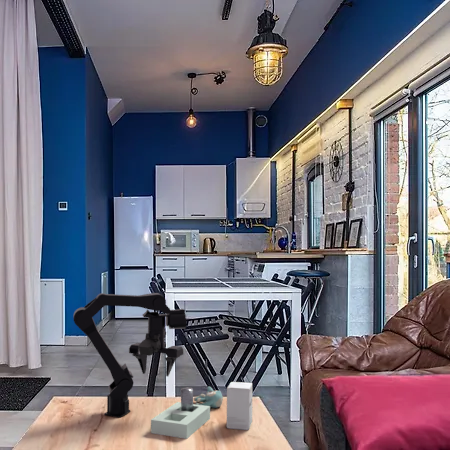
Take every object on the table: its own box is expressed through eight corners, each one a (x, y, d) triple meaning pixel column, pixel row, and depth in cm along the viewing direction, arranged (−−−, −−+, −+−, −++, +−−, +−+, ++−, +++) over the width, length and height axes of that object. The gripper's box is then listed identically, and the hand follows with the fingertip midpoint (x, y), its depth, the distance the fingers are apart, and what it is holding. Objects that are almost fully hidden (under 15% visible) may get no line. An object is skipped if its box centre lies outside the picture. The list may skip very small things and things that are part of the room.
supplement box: (249, 430, 149) (249, 388, 149) (225, 428, 150) (226, 387, 151) (252, 422, 156) (253, 382, 156) (230, 420, 157) (230, 381, 158)
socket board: (150, 433, 146) (151, 419, 146) (177, 414, 163) (177, 402, 163) (186, 438, 142) (186, 424, 142) (210, 418, 159) (210, 406, 159)
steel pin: (179, 418, 155) (178, 390, 156) (184, 414, 159) (183, 387, 160) (190, 419, 154) (190, 391, 154) (195, 415, 158) (195, 387, 158)
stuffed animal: (203, 383, 181) (228, 383, 174) (206, 403, 180) (231, 403, 173) (184, 390, 172) (209, 389, 165) (186, 410, 171) (212, 411, 164)
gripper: (120, 331, 164) (119, 378, 163) (169, 335, 157) (168, 383, 157) (137, 326, 174) (137, 370, 174) (184, 330, 168) (183, 375, 167)
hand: (155, 374), depth 167 cm, fingers open, 9 cm apart
